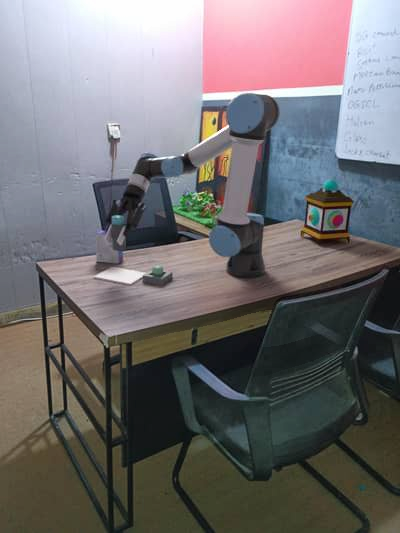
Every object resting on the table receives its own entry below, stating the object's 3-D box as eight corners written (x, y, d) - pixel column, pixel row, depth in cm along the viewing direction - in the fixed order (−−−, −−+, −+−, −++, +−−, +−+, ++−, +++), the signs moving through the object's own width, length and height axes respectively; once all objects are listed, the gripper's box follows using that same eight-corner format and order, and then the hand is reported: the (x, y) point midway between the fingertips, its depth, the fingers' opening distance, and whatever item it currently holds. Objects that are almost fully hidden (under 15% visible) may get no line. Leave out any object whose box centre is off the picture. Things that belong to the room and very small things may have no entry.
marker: (128, 247, 160) (127, 216, 156) (120, 251, 156) (119, 219, 152) (117, 246, 162) (116, 214, 158) (109, 249, 158) (108, 217, 154)
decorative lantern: (296, 236, 221) (302, 176, 211) (329, 233, 227) (337, 175, 217) (317, 247, 203) (325, 183, 193) (353, 244, 209) (362, 181, 199)
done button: (165, 274, 160) (165, 266, 159) (159, 277, 156) (159, 269, 155) (155, 272, 161) (155, 264, 160) (150, 275, 158) (150, 267, 157)
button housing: (172, 278, 161) (172, 271, 161) (162, 285, 154) (162, 278, 154) (153, 274, 164) (153, 268, 164) (142, 281, 158) (142, 275, 157)
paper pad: (147, 274, 164) (147, 273, 164) (130, 285, 154) (130, 283, 154) (112, 268, 170) (112, 266, 170) (93, 277, 160) (93, 276, 160)
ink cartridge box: (124, 259, 180) (122, 226, 175) (119, 264, 175) (117, 229, 170) (101, 257, 182) (99, 224, 177) (96, 262, 177) (94, 227, 172)
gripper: (160, 197, 163) (138, 251, 154) (120, 193, 169) (97, 244, 161) (153, 185, 156) (129, 240, 148) (112, 181, 163) (87, 233, 154)
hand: (112, 242), depth 154 cm, fingers closed on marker, 5 cm apart
